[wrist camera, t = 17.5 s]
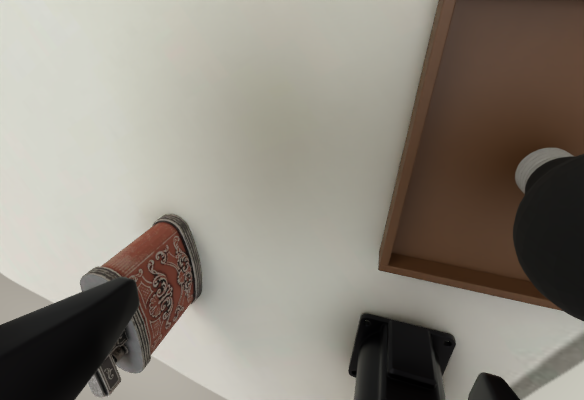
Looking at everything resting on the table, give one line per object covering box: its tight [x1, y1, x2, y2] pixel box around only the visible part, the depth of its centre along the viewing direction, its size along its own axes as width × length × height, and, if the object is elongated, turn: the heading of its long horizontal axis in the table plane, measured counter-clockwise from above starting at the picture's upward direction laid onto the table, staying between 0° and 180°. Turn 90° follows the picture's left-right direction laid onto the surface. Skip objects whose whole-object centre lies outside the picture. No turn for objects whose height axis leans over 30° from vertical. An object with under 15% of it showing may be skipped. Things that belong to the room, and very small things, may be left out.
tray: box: [378, 0, 584, 311], centre depth 16 cm, size 15×13×2 cm
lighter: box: [80, 214, 202, 398], centre depth 22 cm, size 8×3×10 cm, turn 3°
